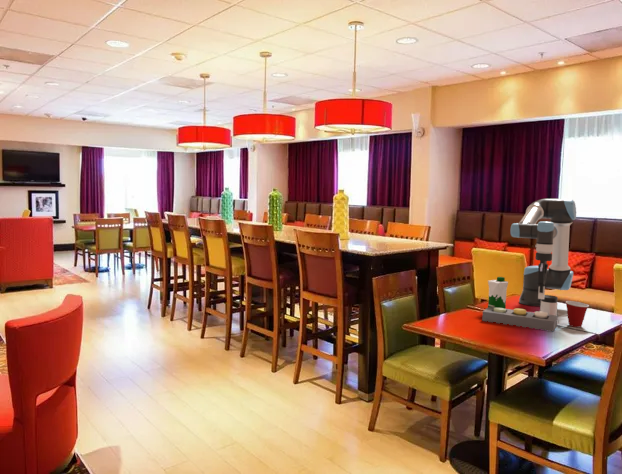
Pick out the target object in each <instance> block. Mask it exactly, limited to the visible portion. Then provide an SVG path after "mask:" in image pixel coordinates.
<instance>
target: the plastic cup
mask: <svg viewBox="0 0 622 474" xmlns="http://www.w3.org/2000/svg"><path fill="white" fill-rule="evenodd" d="M565 304H566V312H567V321H568V325H569V326H570V327H573V328H581V327H582V326H583V323H584V321H585V316H586V314H587V313H586V312H587V311H588V308H589V307H590V305H589V304H587V303H584V302H579V301H574V300H566V301H565Z"/></svg>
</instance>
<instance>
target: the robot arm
mask: <svg viewBox="0 0 622 474" xmlns="http://www.w3.org/2000/svg"><path fill="white" fill-rule="evenodd" d="M541 219H547V220H548V219H549V220H550V221H539V220H541ZM576 219H577V207H576V203H575V201H574V199H569V198H568V199H567V198H541V199H538V200H535V201H533V202H532V203H531V204H529V206H527V208H526V210H525V214H524V216H522V218H521V219H520V220H519V222H516V223H515V222H514V223H512V224H511V226H510V231H509V232H510V236H511V237H512V238H518V239H519V238H520V239H521V238H522V239H536V244H535V246H534V247H535V261H539V263H538V264H537V265H530V266H529V265H527V266H526V267H524V270H523V281H522V282H523V285H522V291H521V294H520V297H519V298H518V301H519V302H518V303H519V304H522V305H525V306H531V307H540V303H541V299H544V295H546V294H545V293H546V289H551V290H559V291H568V290H570V288H571V286H572V283H573V278H574V271H573V270H571V266H569V250H570V248H569V245H570V244H569V243H570V230H571V228H570V226H571V225H572V224H573V223H574V220H576ZM547 262H551V264H550V265H549V264H548V263H547Z"/></svg>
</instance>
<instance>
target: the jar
mask: <svg viewBox="0 0 622 474" xmlns="http://www.w3.org/2000/svg"><path fill="white" fill-rule="evenodd" d="M558 299H559V298H558V296H556V295H550V294H545V295H544V299H541V303H540V306H539V308H540V309H539V311H542V312H546V313H548V315H555V316H558V315H557V314H558Z"/></svg>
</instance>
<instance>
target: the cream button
mask: <svg viewBox="0 0 622 474" xmlns="http://www.w3.org/2000/svg"><path fill="white" fill-rule="evenodd" d="M533 313H534V316H535V317H538V318H547V314H548V313H546V312H542V311H540V310H538V311H537V310H536V311H534V312H533Z"/></svg>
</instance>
